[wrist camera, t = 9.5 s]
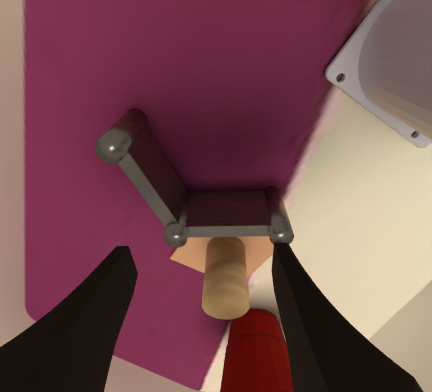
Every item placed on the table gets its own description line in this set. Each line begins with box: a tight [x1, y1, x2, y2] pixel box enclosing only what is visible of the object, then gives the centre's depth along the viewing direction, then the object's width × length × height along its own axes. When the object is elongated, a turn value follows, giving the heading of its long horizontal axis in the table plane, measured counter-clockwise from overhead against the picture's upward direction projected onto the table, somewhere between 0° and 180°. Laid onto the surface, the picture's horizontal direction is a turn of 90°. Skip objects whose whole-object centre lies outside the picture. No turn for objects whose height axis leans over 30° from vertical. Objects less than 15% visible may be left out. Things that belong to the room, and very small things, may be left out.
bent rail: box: [95, 109, 294, 248], centre depth 19 cm, size 14×6×5 cm, turn 59°
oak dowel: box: [202, 237, 249, 320], centre depth 23 cm, size 4×4×6 cm
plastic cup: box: [220, 309, 293, 392], centre depth 28 cm, size 11×11×12 cm
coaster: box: [170, 236, 274, 278], centre depth 25 cm, size 8×8×1 cm
